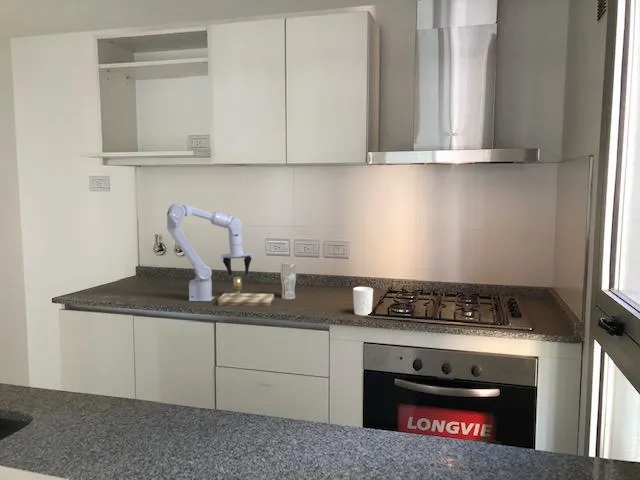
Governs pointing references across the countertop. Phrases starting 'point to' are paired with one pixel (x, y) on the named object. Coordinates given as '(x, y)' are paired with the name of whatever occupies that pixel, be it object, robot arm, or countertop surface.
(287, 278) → the beer glass
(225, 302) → the checkered wooden board
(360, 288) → the white cup
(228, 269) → the robot arm
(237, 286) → the brass peg
